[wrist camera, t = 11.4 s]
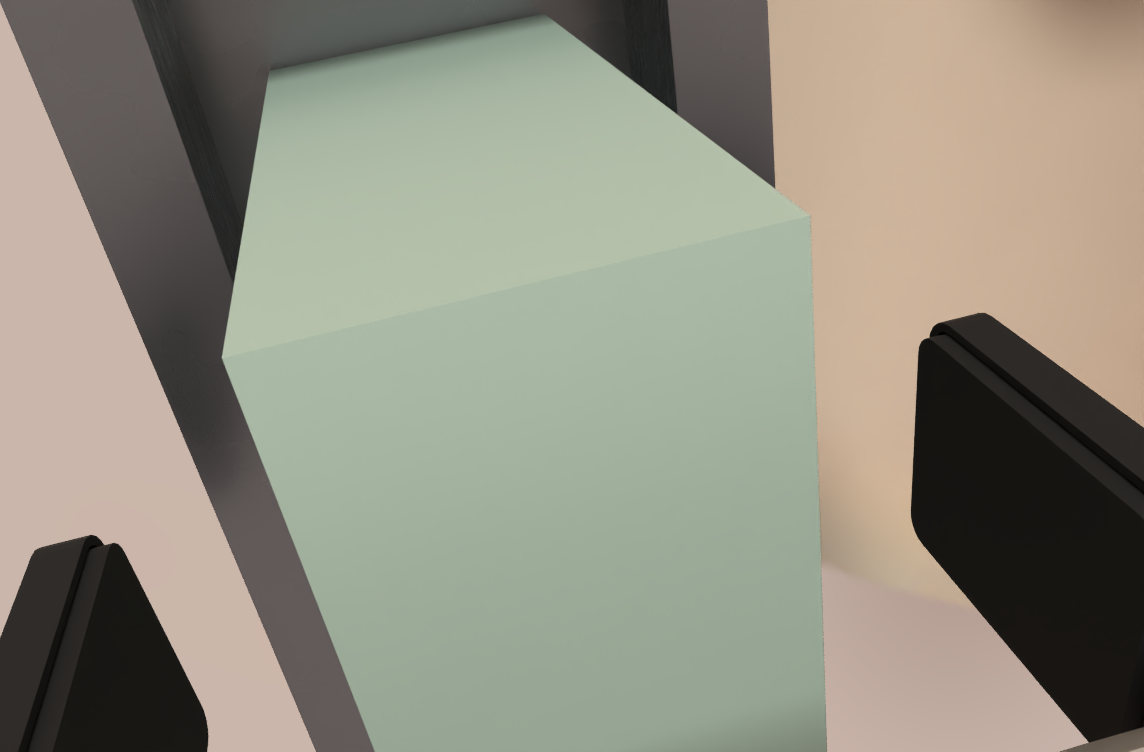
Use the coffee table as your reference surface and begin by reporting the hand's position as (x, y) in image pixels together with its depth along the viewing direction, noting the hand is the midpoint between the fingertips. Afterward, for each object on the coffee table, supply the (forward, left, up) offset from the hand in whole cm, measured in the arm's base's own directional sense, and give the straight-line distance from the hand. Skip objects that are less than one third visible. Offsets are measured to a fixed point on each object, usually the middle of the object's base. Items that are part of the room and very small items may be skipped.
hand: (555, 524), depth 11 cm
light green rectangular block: (0, 0, -4) cm, 4 cm away
